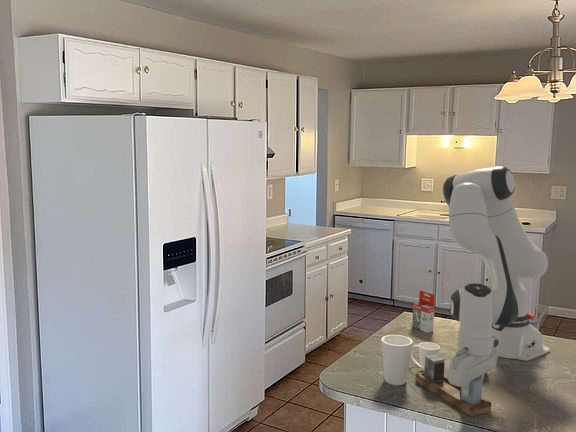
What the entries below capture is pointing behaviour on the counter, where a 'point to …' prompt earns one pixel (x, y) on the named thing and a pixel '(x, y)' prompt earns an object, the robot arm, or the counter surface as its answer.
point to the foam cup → (396, 358)
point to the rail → (447, 386)
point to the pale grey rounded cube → (473, 392)
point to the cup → (425, 352)
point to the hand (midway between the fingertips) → (471, 391)
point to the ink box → (424, 312)
